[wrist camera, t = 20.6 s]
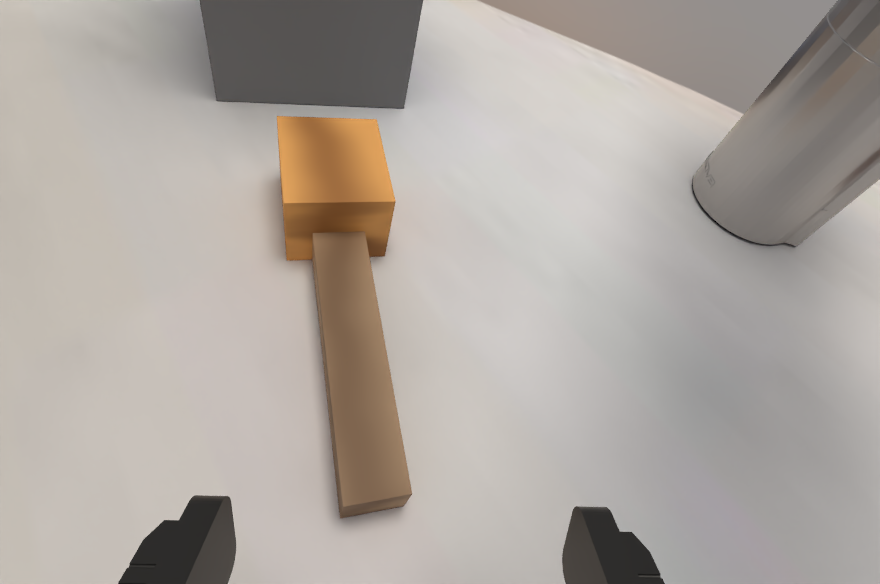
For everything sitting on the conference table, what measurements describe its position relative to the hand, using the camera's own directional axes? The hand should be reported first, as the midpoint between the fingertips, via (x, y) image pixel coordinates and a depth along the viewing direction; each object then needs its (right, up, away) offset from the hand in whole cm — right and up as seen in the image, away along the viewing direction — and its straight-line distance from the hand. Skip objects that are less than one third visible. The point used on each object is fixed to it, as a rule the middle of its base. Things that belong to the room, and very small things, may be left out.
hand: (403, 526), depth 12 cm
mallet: (-5, +4, +18) cm, 19 cm away
